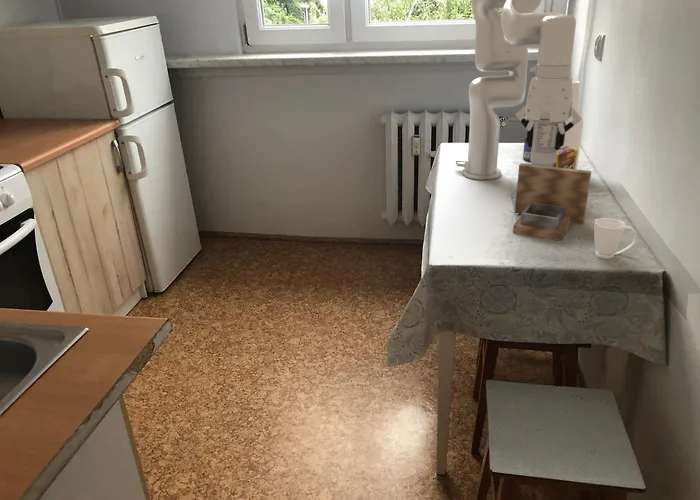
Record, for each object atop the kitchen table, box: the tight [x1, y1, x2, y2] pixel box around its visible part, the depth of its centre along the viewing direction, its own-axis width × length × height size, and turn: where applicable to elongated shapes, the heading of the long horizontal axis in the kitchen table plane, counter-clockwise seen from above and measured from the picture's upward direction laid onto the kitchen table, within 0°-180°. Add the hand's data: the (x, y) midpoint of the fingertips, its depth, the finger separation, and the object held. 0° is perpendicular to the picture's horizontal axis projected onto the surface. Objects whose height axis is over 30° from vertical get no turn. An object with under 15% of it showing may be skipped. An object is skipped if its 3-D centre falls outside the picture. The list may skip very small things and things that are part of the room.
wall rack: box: [512, 162, 592, 241], centre depth 150 cm, size 18×15×14 cm
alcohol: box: [561, 80, 584, 170], centre depth 183 cm, size 9×9×30 cm
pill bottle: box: [522, 134, 532, 163], centre depth 204 cm, size 6×6×11 cm
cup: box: [593, 217, 638, 260], centre depth 135 cm, size 7×10×8 cm
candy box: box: [551, 146, 578, 169], centre depth 166 cm, size 9×4×15 cm, turn 123°
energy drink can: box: [530, 111, 559, 168], centre depth 142 cm, size 6×6×15 cm
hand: (544, 146), depth 143 cm, fingers closed on energy drink can, 6 cm apart
